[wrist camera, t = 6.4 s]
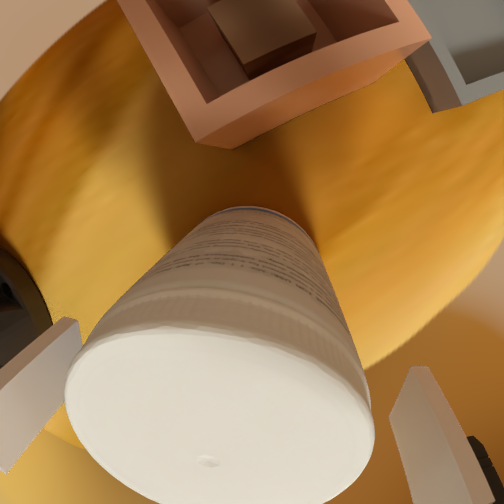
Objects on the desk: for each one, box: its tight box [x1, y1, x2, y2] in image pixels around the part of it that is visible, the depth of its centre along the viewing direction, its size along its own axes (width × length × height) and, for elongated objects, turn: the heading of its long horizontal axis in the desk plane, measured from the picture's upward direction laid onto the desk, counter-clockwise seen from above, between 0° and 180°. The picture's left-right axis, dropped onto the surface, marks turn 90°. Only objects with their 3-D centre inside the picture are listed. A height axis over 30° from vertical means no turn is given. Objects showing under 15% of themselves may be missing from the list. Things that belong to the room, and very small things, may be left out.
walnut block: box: [207, 0, 317, 81], centre depth 14 cm, size 4×4×4 cm
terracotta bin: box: [117, 0, 432, 150], centre depth 13 cm, size 10×10×9 cm
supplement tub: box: [64, 206, 375, 504], centre depth 14 cm, size 10×10×15 cm
